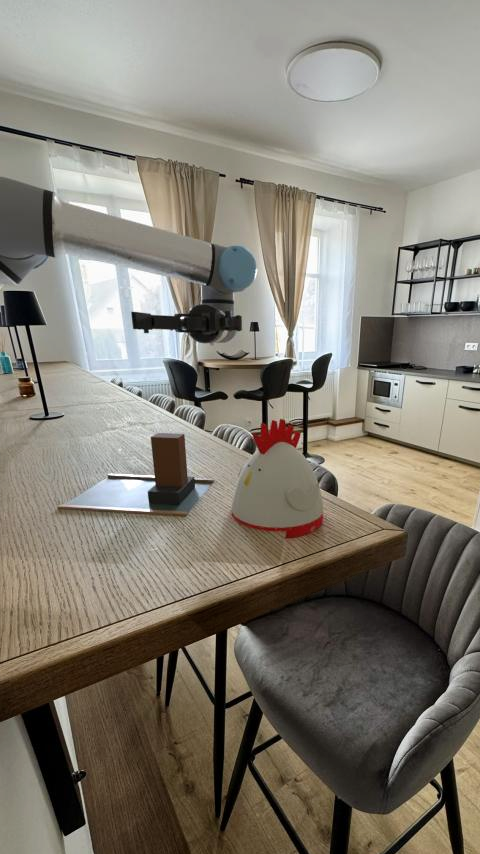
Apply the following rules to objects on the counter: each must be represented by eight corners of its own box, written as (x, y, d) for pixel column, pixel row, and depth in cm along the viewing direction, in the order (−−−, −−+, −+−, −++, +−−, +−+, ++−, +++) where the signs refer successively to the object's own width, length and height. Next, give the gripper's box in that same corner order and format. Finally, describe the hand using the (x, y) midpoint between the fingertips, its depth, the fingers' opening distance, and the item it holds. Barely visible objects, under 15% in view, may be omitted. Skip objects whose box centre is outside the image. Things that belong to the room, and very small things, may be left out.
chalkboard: (58, 516, 62) (56, 506, 62) (110, 481, 77) (109, 473, 77) (186, 523, 60) (186, 513, 60) (214, 487, 75) (214, 478, 75)
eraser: (167, 486, 72) (161, 429, 68) (195, 487, 71) (191, 430, 68) (148, 503, 64) (141, 440, 61) (179, 505, 64) (174, 442, 60)
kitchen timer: (214, 514, 64) (209, 417, 58) (282, 495, 72) (283, 408, 66) (270, 548, 54) (271, 435, 48) (341, 521, 62) (349, 421, 57)
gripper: (265, 344, 89) (246, 346, 69) (153, 342, 91) (105, 343, 71) (265, 305, 86) (246, 296, 66) (150, 304, 88) (98, 295, 69)
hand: (173, 320), depth 69 cm, fingers open, 13 cm apart
